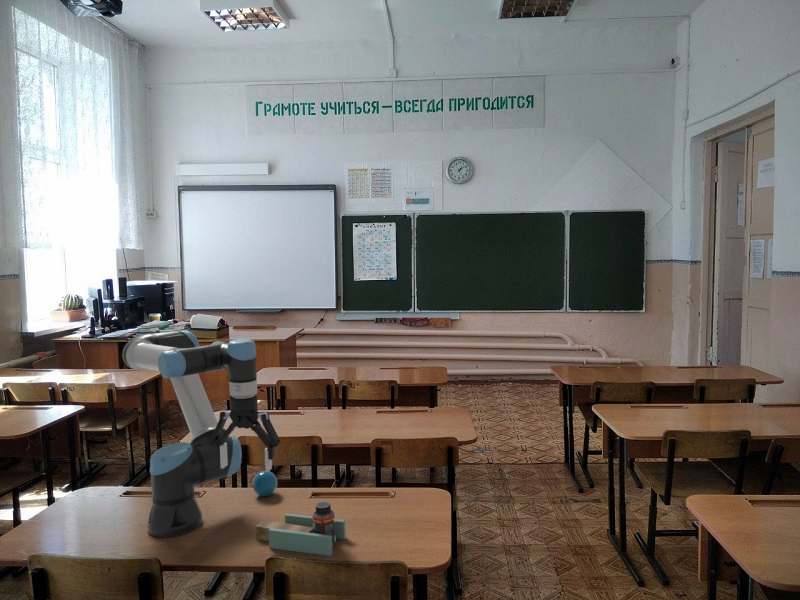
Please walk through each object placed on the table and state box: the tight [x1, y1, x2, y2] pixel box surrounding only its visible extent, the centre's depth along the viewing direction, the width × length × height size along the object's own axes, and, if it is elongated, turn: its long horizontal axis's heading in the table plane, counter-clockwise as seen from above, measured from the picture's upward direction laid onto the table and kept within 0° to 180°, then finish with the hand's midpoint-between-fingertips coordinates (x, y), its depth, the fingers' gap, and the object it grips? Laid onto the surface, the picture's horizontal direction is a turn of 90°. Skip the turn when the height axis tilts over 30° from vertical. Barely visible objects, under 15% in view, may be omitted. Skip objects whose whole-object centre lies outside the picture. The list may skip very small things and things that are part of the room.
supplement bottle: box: [312, 501, 337, 548], centre depth 161 cm, size 6×6×11 cm
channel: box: [268, 513, 347, 557], centre depth 163 cm, size 18×10×5 cm, turn 73°
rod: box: [255, 519, 313, 542], centre depth 165 cm, size 16×4×4 cm, turn 70°
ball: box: [252, 470, 278, 497], centre depth 196 cm, size 8×8×8 cm
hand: (246, 468), depth 169 cm, fingers open, 13 cm apart
